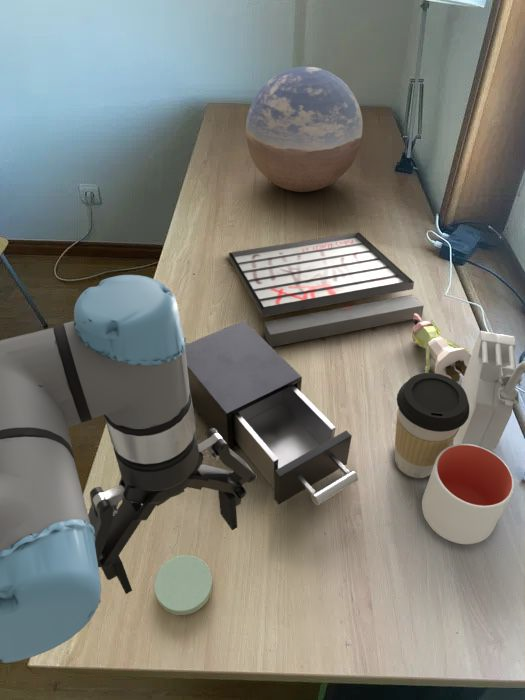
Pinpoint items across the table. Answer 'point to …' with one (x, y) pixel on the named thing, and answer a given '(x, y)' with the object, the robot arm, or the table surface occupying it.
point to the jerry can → (490, 390)
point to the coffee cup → (427, 421)
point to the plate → (183, 585)
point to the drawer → (293, 445)
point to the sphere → (304, 129)
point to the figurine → (440, 350)
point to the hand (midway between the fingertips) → (178, 550)
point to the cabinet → (234, 375)
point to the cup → (466, 493)
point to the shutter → (323, 286)
